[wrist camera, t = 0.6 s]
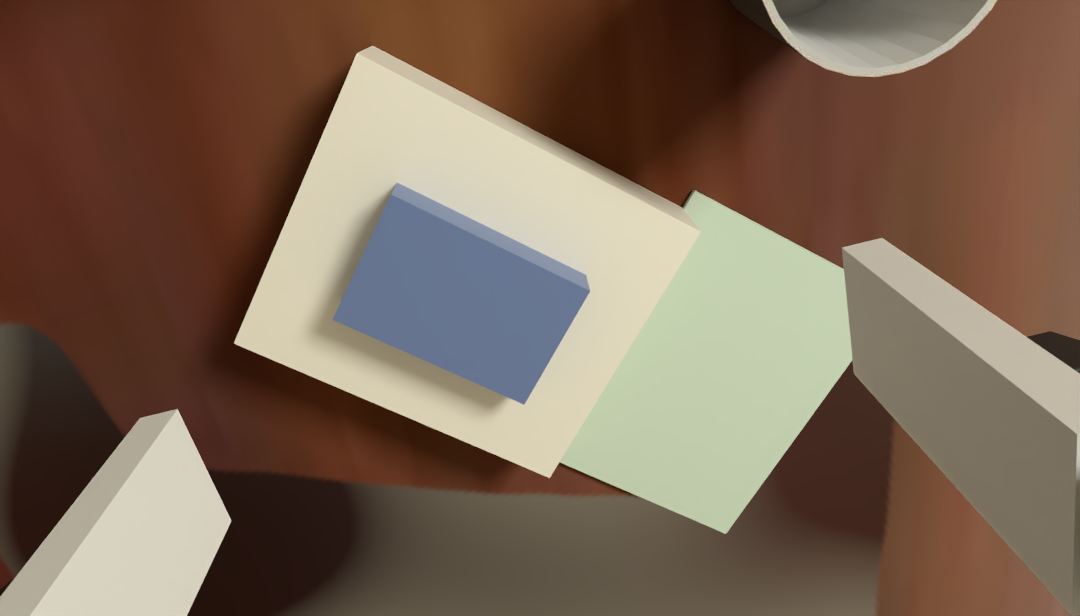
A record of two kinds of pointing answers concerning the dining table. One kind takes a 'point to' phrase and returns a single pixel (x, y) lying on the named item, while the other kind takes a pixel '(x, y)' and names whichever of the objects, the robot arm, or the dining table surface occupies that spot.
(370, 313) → the blue rectangular block
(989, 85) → the dining table surface
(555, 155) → the cream flat block
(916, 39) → the coffee mug
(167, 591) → the robot arm
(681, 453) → the mat
